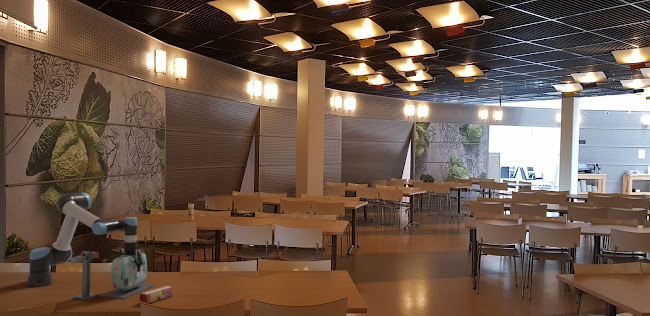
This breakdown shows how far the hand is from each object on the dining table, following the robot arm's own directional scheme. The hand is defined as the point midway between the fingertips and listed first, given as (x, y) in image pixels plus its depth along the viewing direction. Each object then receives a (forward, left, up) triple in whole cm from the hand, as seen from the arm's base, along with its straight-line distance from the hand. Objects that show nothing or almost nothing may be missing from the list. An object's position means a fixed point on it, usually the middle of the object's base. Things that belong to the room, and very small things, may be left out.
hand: (130, 276), depth 306 cm
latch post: (-16, -20, -9) cm, 27 cm away
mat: (0, 0, -9) cm, 9 cm away
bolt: (-16, -22, +14) cm, 31 cm away
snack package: (+27, -12, -10) cm, 31 cm away
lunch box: (0, 0, -7) cm, 7 cm away
